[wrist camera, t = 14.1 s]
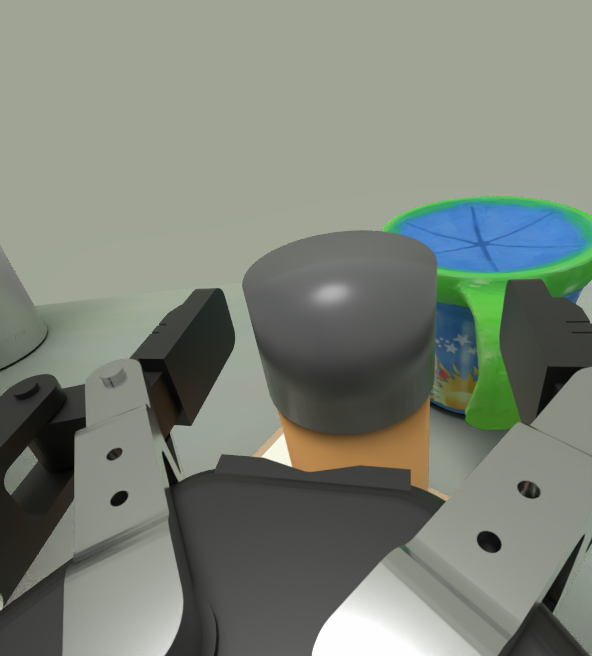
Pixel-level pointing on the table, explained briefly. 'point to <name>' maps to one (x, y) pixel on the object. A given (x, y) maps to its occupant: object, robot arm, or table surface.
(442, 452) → the table surface
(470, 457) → the table surface
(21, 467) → the table surface
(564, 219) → the snack cup
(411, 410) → the orange grey cylinder
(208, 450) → the table surface
